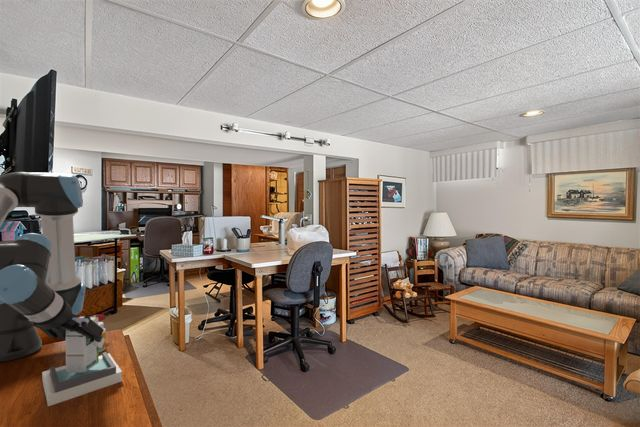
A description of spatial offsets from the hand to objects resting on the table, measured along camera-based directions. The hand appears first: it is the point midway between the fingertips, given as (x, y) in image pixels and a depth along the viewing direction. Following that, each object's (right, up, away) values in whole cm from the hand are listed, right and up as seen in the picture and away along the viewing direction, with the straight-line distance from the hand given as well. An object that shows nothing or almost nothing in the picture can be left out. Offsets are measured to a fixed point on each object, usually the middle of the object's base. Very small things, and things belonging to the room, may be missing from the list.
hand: (90, 344), depth 98 cm
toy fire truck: (-18, -9, +22) cm, 30 cm away
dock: (-1, -10, -3) cm, 11 cm away
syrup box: (0, -6, -3) cm, 7 cm away
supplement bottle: (-10, -10, +17) cm, 22 cm away
